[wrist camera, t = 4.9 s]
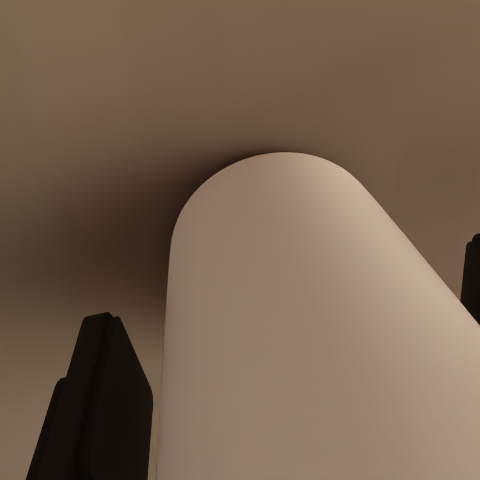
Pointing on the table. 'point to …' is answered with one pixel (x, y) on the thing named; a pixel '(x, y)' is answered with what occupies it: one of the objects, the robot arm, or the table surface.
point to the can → (310, 337)
